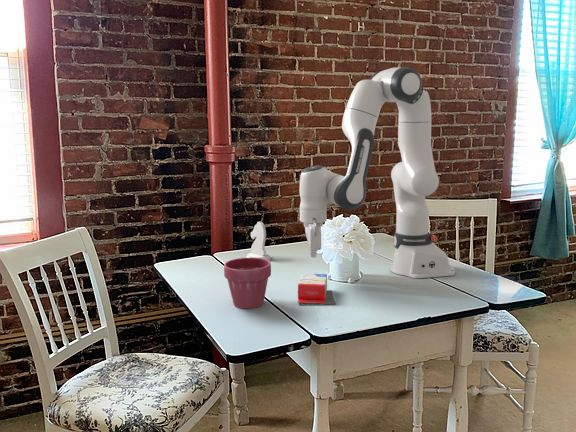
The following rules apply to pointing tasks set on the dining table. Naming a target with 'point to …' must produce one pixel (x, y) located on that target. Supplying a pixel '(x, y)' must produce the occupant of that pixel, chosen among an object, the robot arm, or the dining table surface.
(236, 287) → the plant pot
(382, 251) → the dining table surface
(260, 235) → the chess piece
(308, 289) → the ink box
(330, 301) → the mat
